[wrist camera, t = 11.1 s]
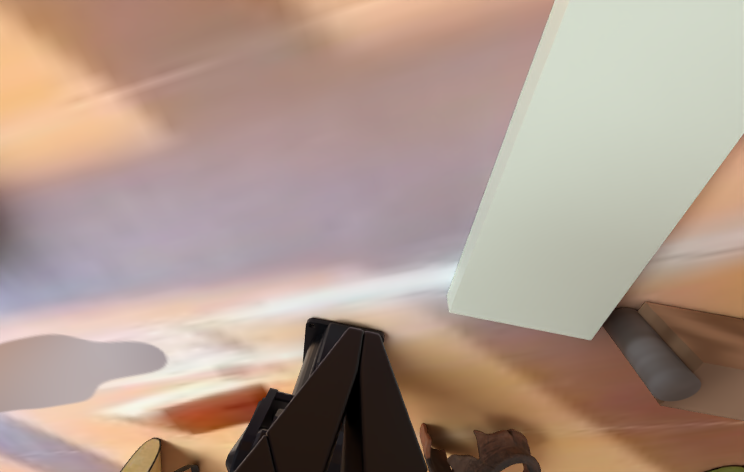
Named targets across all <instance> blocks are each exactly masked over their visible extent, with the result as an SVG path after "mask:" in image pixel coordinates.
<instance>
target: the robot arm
mask: <svg viewBox="0 0 744 472" xmlns="http://www.w3.org/2000/svg"><path fill="white" fill-rule="evenodd" d="M312 324H314V325H312ZM383 342H384V333H382V332H380V331H376V330H371V329H366V328H361V327H356V326H350V325H345V324H340V323H335V322H330V321H325V320H320V319H315V318H310V319H308V321H307V323H306V330H305V343H304V356H303V365H302V368H301V370H300V373H299V376H298V379H297V382H296V385H295V388H294V390H293V393H292V395H291V394H287V393H283V392H279V391H278V390H277V389H273V388H270V390H269V392H268V394H267V396H266V397H265V398H263V399H262V401H259V403H258V406H257V408H256V410H255V412H254V415H253V417H252V419H251V421H250V423H249V425H248V427H247V428H246V430H245V431H244V433H243V434H242V435H241V437H240V438H239V440H238V441H237V443H236V444H235V445H234V447H233V448H232V450H231V451H230V453H229V455H228V457H227V460H226V467H227V470H228V472H427V470H428V468H427V466H426V463H425V460H424V457H423V454H422V451H421V449H420V446H419V443H418V440H417V437H416V435H415V432H414V429H413V426H412V423H411V420H410V418H409V415H408V412H407V409H406V406H405V404H404V401H403V398H402V395H401V392H400V389H399V387H398V384H397V381H396V378H395V375H394V373H393V370H392V367H391V364H390V361H389V358H388V356H387V353H386V350H385V347H384V344H383Z"/></svg>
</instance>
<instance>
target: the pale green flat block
mask: <svg viewBox="0 0 744 472" xmlns="http://www.w3.org/2000/svg"><path fill="white" fill-rule="evenodd" d="M743 134H744V0H555V2H554V4H553V7H552V10H551V13H550V15H549V18H548V21H547V24H546V26H545V29H544V32H543V34H542V37H541V40H540V43H539V45H538V48H537V51H536V53H535V56H534V59H533V62H532V64H531V67H530V70H529V73H528V75H527V78H526V81H525V83H524V86H523V89H522V92H521V94H520V97H519V100H518V102H517V105H516V108H515V111H514V113H513V116H512V119H511V122H510V124H509V127H508V130H507V132H506V135H505V138H504V141H503V143H502V146H501V149H500V151H499V154H498V157H497V160H496V162H495V165H494V168H493V171H492V173H491V176H490V179H489V181H488V184H487V187H486V190H485V192H484V195H483V198H482V200H481V203H480V206H479V209H478V211H477V214H476V217H475V220H474V222H473V225H472V228H471V230H470V233H469V236H468V239H467V241H466V244H465V247H464V249H463V252H462V255H461V258H460V260H459V263H458V266H457V269H456V271H455V274H454V277H453V279H452V282H451V285H450V288H449V290H448V293H447V302H448V309H449V313H454V314H459V315H464V316H469V317H474V318H480V319H485V320H490V321H495V322H500V323H505V324H510V325H515V326H520V327H525V328H530V329H535V330H541V331H546V332H551V333H556V334H561V335H566V336H571V337H576V338H581V339H586V340H592V338H593V337H594V336H595V334H596V333H597V332H598V330H599V329H600V327H601V326H602V325H603V323H604V322H605V321H606V319H607V318H608V317H609V315H610V314H611V313H612V311H613V310H614V308H615V307H616V306H617V304H618V303H619V302H620V300H621V299H622V298H623V296H624V295H625V294H626V292H627V291H628V290H629V288H630V287H631V285H632V284H633V283H634V281H635V280H636V279H637V277H638V276H639V275H640V273H641V272H642V271H643V269H644V268H645V267H646V265H647V264H648V262H649V261H650V260H651V258H652V257H653V256H654V254H655V253H656V252H657V250H658V249H659V248H660V246H661V245H662V243H663V242H664V241H665V239H666V238H667V237H668V235H669V234H670V233H671V231H672V230H673V229H674V227H675V226H676V225H677V223H678V222H679V220H680V219H681V218H682V216H683V215H684V214H685V212H686V211H687V210H688V208H689V207H690V206H691V204H692V203H693V201H694V200H695V199H696V197H697V196H698V195H699V193H700V192H701V191H702V189H703V188H704V187H705V185H706V184H707V183H708V181H709V180H710V178H711V177H712V176H713V174H714V173H715V172H716V170H717V169H718V168H719V166H720V165H721V164H722V162H723V161H724V160H725V158H726V157H727V155H728V154H729V153H730V151H731V150H732V149H733V147H734V146H735V145H736V143H737V142H738V141H739V139H740V138H741V136H742V135H743Z"/></svg>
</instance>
